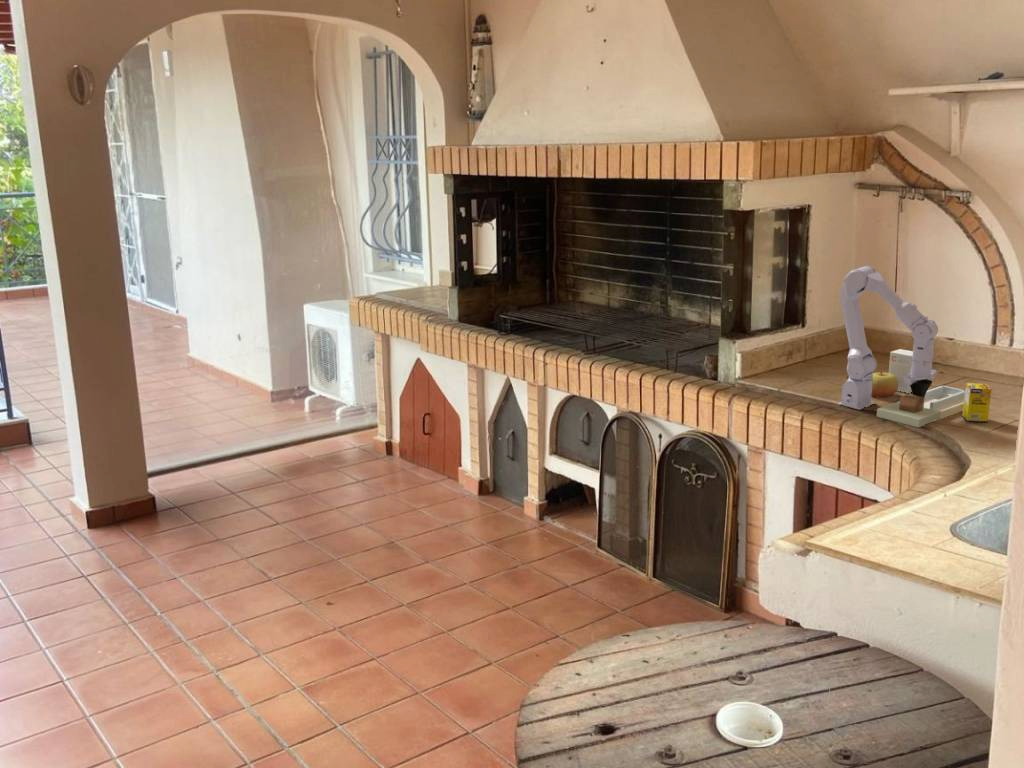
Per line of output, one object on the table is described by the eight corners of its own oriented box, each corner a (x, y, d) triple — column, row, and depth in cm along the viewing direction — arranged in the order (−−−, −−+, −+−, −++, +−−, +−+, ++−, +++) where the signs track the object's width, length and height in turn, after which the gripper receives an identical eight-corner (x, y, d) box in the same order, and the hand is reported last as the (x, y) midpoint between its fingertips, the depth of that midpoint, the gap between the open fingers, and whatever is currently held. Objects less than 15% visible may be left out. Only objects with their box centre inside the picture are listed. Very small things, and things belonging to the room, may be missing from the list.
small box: (918, 390, 324) (922, 352, 321) (909, 394, 321) (912, 356, 317) (896, 385, 331) (899, 348, 327) (886, 389, 327) (889, 351, 323)
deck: (918, 427, 288) (919, 413, 287) (876, 416, 299) (877, 402, 298) (974, 406, 306) (976, 392, 305) (933, 396, 317) (934, 383, 316)
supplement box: (987, 423, 290) (992, 389, 287) (966, 423, 291) (970, 388, 288) (982, 417, 295) (986, 383, 292) (961, 417, 297) (965, 382, 294)
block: (914, 413, 293) (915, 400, 292) (899, 409, 297) (900, 397, 296) (923, 410, 296) (924, 397, 295) (908, 406, 300) (909, 393, 299)
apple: (868, 389, 327) (870, 366, 324) (899, 393, 322) (901, 370, 319) (862, 397, 318) (864, 373, 316) (893, 401, 314) (896, 377, 311)
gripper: (921, 366, 287) (916, 410, 291) (947, 358, 296) (943, 401, 299) (899, 362, 293) (895, 405, 297) (926, 354, 301) (921, 396, 305)
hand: (918, 402), depth 298 cm, fingers closed
